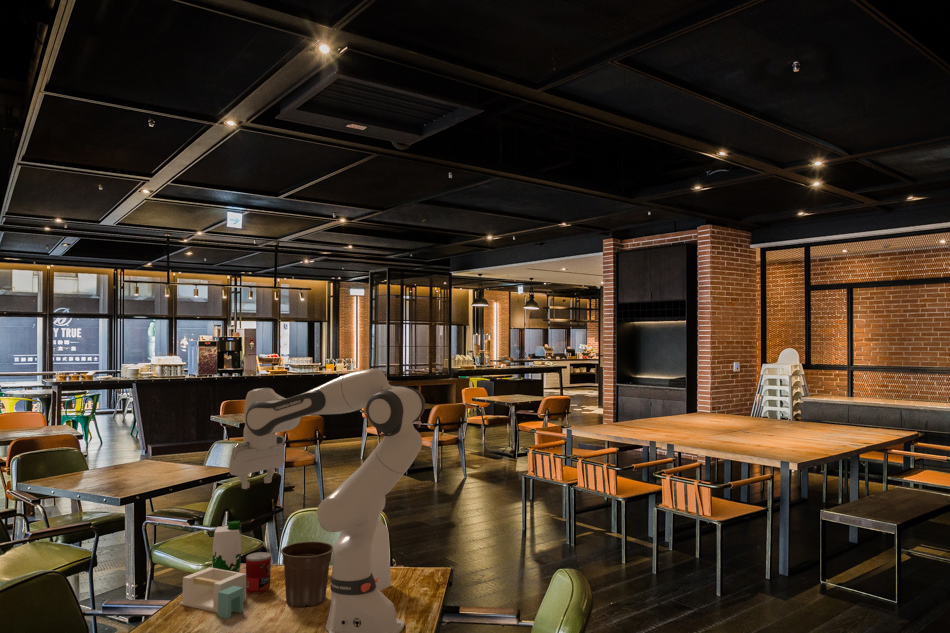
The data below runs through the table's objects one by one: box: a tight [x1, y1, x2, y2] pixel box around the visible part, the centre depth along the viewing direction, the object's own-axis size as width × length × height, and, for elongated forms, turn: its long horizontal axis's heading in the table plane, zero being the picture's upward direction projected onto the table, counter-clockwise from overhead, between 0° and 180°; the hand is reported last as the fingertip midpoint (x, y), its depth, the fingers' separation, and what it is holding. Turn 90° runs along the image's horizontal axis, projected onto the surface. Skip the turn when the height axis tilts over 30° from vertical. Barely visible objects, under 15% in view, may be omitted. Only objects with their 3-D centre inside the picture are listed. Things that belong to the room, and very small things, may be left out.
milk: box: [371, 518, 392, 592], centre depth 214 cm, size 12×12×26 cm
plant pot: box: [280, 541, 334, 608], centre depth 202 cm, size 16×16×16 cm
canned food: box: [245, 551, 272, 594], centre depth 212 cm, size 8×8×11 cm
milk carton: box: [211, 520, 242, 573], centre depth 219 cm, size 9×9×20 cm
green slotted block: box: [217, 586, 244, 620], centre depth 191 cm, size 4×6×7 cm, turn 156°
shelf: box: [179, 566, 247, 614], centre depth 201 cm, size 16×11×8 cm
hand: (256, 485), depth 196 cm, fingers open, 8 cm apart
